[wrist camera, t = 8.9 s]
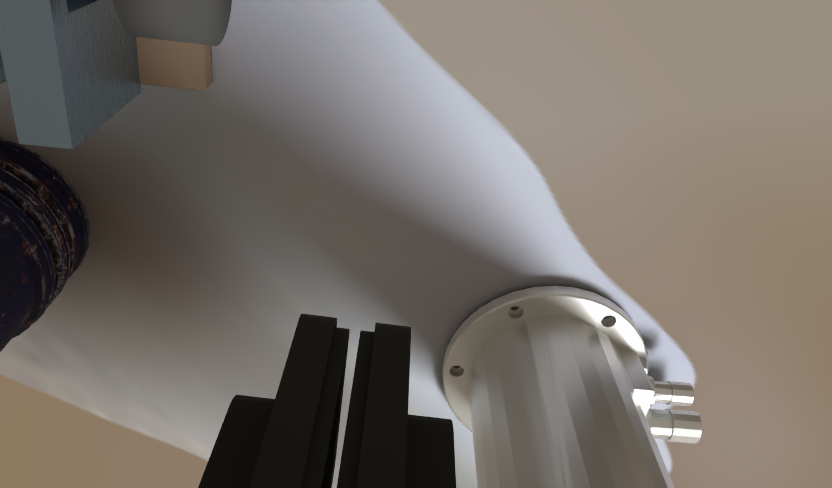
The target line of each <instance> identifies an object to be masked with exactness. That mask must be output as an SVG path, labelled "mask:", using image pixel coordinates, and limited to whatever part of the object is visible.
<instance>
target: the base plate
mask: <svg viewBox="0 0 832 488" xmlns="http://www.w3.org/2000/svg"><path fill="white" fill-rule="evenodd" d="M136 42H137V53H138V64H139V74H140V84H147V85H156V86H165V87H174V88H183V89H192V90H201V91H205V89H206V88H207V87H208V86H209V85H210V84H211V83H212V82H213V78H212V52H211V45H202V44H194V43H185V42H176V41H167V40H159V39H150V38H141V37H136Z"/></svg>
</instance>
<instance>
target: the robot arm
mask: <svg viewBox="0 0 832 488" xmlns="http://www.w3.org/2000/svg"><path fill="white" fill-rule="evenodd" d="M336 327H337V318H332V317H324V316H316V315H308V314H301V315H300V318H299V321H298V324H297V328H296V331H295V334H294V338H293V341H292V345H291V348H290V351H289V355H288V358H287V361H286V365H285V368H284V371H283V375H282V378H281V381H280V385H279V388H278V392H277V395H276V398H275V399H268V398H259V397H251V396H242V395H236V396H235V397H234V398H233V399H232V402H231V404H230V406H229V408H228V411H227V414H226V416H225V419H224V422H223V424H222V427H221V429H220V432H219V435H218V437H217V440H216V442H215V445H214V448H213V450H212V453H211V456H210V458H209V461H208V463H207V466H206V469H205V471H204V474H203V477H202V479H201V482H200V484H199V487H198V488H331V487H332V481H333V474H334V467H335V459H336V450H337V441H338V432H339V423H340V414H341V405H342V395H343V386H344V377H345V368H346V359H347V350H348V340H349V329H344V328H336ZM410 343H411V327H406V326H398V325H390V324H382V323H376V326H375V332H369V331H361V332H360V339H359V345H358V352H357V358H356V365H355V372H354V378H353V385H352V391H351V398H350V404H349V411H348V418H347V424H346V431H345V437H344V444H343V451H342V457H341V464H340V470H339V477H338V484H337V488H456V477H455V455H454V433H453V423H452V420H450V419H442V418H433V417H424V416H416V415H408V394H409V368H410ZM648 369H649V367H648V353H647V350H646V347H645V344H644V341H643V338H642V336H641V335H640V333H639V331H638V329H637V327H636V325H635V323H634V322H633V321H632V320H631V318H630V317H629V316H628V315H627V314H626V312H625V311H624V310H622V309H621V308H620V307H618V306H617V305H616V304H614V303H613V302H612V301H610V300H608V299H606V298H604V297H602V296H600V295H598V294H596V293H593V292H590V291H586V290H582V289H579V288H574V287H564V286H541V287H532V288H527V289H523V290H518V291H514V292H511V293H509V294H506V295H504V296H501V297H499V298H496V299H494V300H492V301H491V302H489V303H487V304H486V305H484V306H482V307H481V308H479V309H478V310H476V311H475V312H474V313H473V314H472V315H471V316H470V317H468V318H467V319H466V320H465V321H464V322H463V323H462V325H461V326H460V327H459V328H458V330H457V331H456V332H455V333H454V335H453V337H452V339H451V341H450V343H449V345H448V347H447V349H446V353H445V357H444V361H443V385H444V392H445V396H446V399H447V401H448V404H449V406H450V408H451V410H452V411H453V413H454V414H455V416H456V417H457V418H458V420H459V421H460V422H461V423H462V424H463V425H465V426H466V427H467V428H468V429H469V430H470V431H471V432H473V442H474V453H475V464H476V474H477V485H478V488H674V486H673V484H672V481H671V479H670V476H669V474H668V471H667V469H666V466H665V464H664V461H663V459H662V456H661V454H660V451H659V449H658V446H657V444H656V442H655V439H654V438H659V439H665V440H666V441H671V442H682V443H697V442H698V441H699V439H700V438H701V433H702V423H701V419H700V416H699V415H698V413H697V412H693V411H682V410H671V409H665V410H656V409H650V408H649V406H650V407H651V406H652V404H653V403H654V402H658V403H666V404H668V405H679V406H690V405H691V404H692V402H693V398H694V391H693V388H692V385H691V384H690V383H682V382H671V381H668V382H659V381H654V379H653V377H651V376H648V375H647V374H648Z"/></svg>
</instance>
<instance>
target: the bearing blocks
mask: <svg viewBox="0 0 832 488" xmlns="http://www.w3.org/2000/svg"><path fill="white" fill-rule="evenodd" d="M5 81H7V86H8V91H9V96H10V101H11V107H12V112H13V117H14V122H15V127H16V132H17V137H18V143H19V144H26V145H36V146H45V147H55V148H64V149H73V148H75V147H76V146H77V145H78V144H79V143H81V142H82V141H83V140H84V139H85V138H87V137H88V136H89V135H90V134H91V133H93V132H94V131H95V130H96V129H97V128H98V127H100V126H101V125H102V124H103V123H104V122H106V121H107V120H108V119H109V118H110V117H112V116H113V115H114V114H115V113H116V112H118V111H119V110H120V109H121V108H122V107H124V106H125V105H126V104H127V103H128V102H130V101H131V100H132V99H133V98H134V97H136V96H137V95H138V94H139V93H140V92H141V85H140V74H139V64H138V53H137V42H136V37H134V36H132V35H130V34H129V33H128V32H127V31H126V30H125V29H124V27H123V26H122V24H121V22H120V20H119V18H118V15H117V13H116V10H115V7H114V3H113V0H0V84H1V83H3V82H5Z"/></svg>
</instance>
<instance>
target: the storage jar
mask: <svg viewBox="0 0 832 488" xmlns="http://www.w3.org/2000/svg"><path fill="white" fill-rule="evenodd" d="M88 245H89V224H88V220H87V216H86V212H85V209H84V207H83V205H82V203H81V201H80V199H79V197H78V195H77V194H76V192H75V191H74V189H73V188H72V186H71V185H70V184H69V182H68V181H67V180H66V179H65V178H64V177H63V175H62V174H61V173H60V172H58V171H57V170H56V169H55V168H54V167H53V166H52V165H51V164H50V163H48V162H47V161H45V160H44V159H43V158H41V157H40V156H39V155H37V154H35V153H33V152H32V151H30V150H28V149H26V148H25V147H23V146H20V145H18V144H15V143H13V142H11V141H8V140H4V139H1V138H0V352H1V351H2V349H3V348H4V347H5V346H6V345H7V343H8V342H9V341H10V340H11V339H12V338H14V337H16V336H18V335H20V334H21V333H22V332H24V331H25V330H26V329H28V328H29V327H30V326H31V325H32V324H33V323H34V322H36V321H37V320H38V319H39V318H40V317H41V316H42V314H43V313H44V312H45V310H46V308H47V307H48V306H49V305H50V304H51V303H52V301H53V300H54V299H55V298H56V297H57V295H58V294H59V293H60V292H61V290H62V289H63V287H64V285H65V283H66V281H67V280H68V278H69V277H70V276H71V275H72V274H73V273H74V271H75V270H76V269H77V268H78V267H79V266H80V264H81V263H82V261H83V259H84V257H85V255H86V252H87V249H88Z"/></svg>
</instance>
